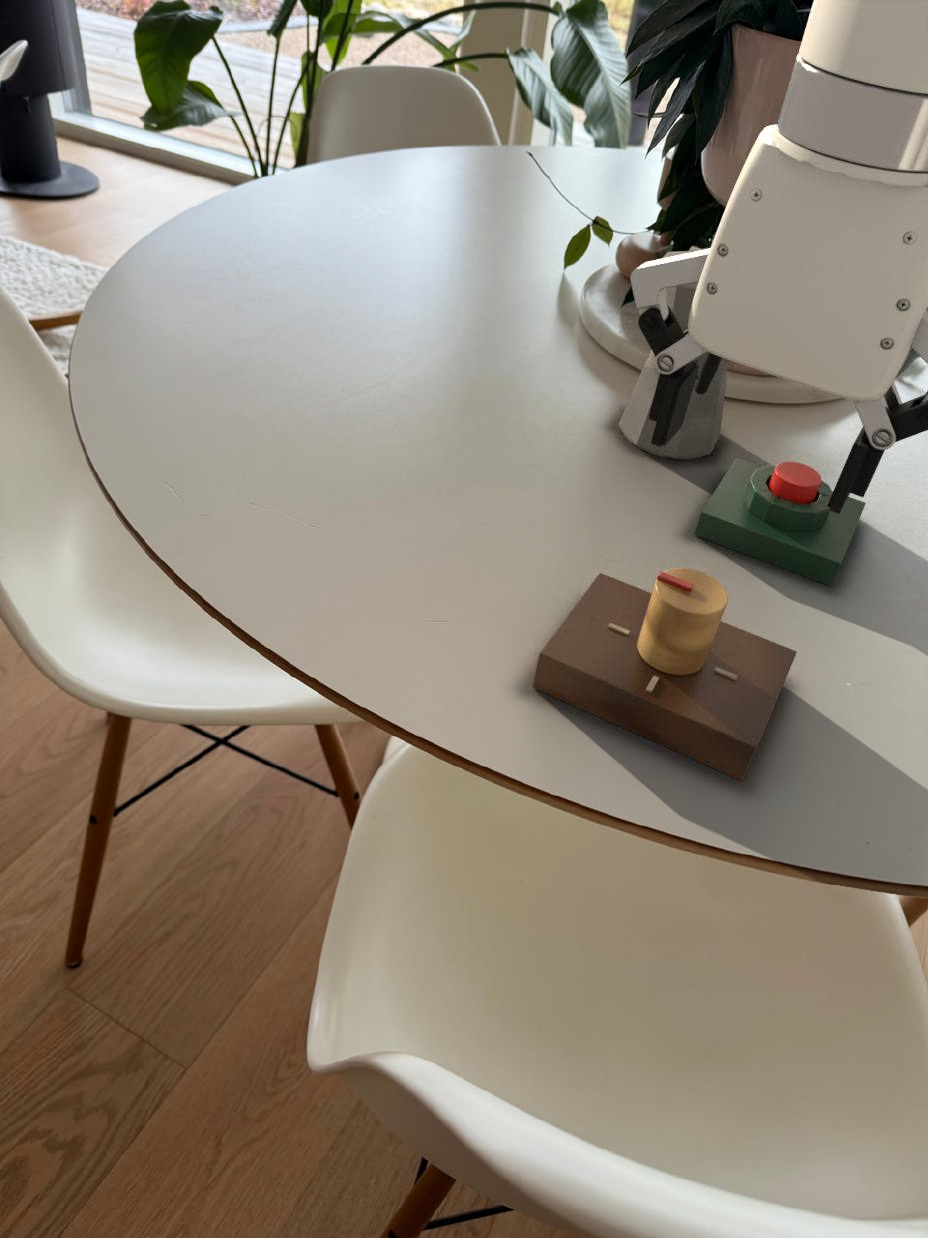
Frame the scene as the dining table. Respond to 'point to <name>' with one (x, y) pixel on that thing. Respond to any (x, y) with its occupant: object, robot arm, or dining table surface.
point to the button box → (778, 523)
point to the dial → (681, 621)
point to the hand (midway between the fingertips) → (750, 467)
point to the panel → (664, 679)
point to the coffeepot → (705, 398)
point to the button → (795, 482)
